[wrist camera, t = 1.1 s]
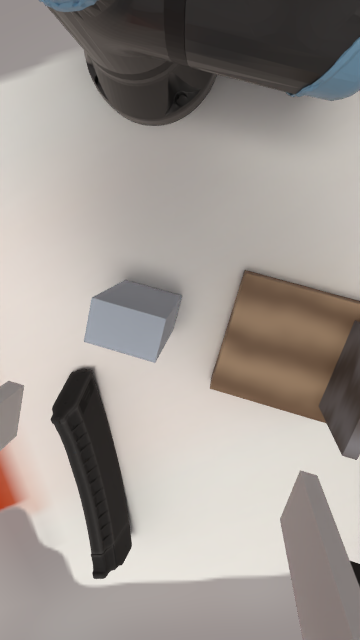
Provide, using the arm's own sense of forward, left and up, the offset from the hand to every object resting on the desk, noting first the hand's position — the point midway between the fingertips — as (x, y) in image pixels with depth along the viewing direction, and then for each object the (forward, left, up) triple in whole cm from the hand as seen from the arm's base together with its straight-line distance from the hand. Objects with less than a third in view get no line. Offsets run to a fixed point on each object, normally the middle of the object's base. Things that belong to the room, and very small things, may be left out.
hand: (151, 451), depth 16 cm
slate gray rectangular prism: (+2, -7, -32) cm, 33 cm away
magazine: (+28, -8, -32) cm, 44 cm away
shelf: (+2, +12, -32) cm, 34 cm away
